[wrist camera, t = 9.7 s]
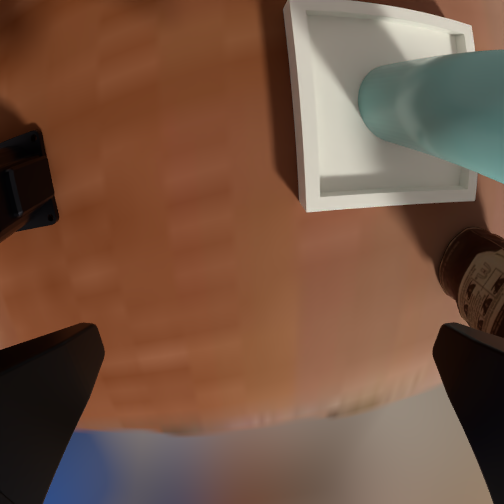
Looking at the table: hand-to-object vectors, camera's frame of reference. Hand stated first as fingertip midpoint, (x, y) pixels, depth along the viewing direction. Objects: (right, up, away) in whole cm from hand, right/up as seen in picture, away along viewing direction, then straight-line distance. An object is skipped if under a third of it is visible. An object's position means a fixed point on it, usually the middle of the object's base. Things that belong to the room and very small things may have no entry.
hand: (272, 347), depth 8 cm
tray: (+8, +11, +10) cm, 17 cm away
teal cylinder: (+8, +11, +9) cm, 16 cm away
